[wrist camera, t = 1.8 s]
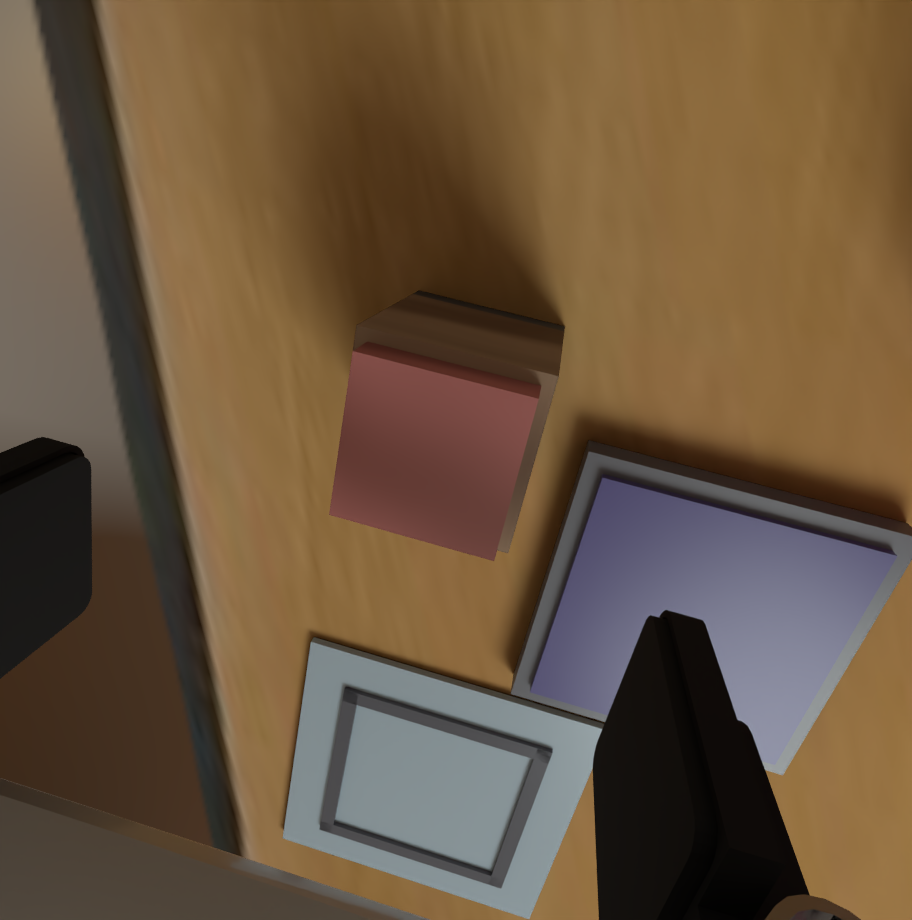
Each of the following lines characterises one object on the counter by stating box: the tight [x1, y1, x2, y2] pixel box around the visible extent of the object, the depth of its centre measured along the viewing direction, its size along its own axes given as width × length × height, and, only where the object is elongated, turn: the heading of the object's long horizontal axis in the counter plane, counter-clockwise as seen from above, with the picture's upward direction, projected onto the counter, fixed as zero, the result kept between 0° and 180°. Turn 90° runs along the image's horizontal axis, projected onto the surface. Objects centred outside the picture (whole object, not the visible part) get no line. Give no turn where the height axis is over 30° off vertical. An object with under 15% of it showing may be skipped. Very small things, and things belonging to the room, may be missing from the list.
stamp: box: [329, 291, 565, 561], centre depth 17 cm, size 5×5×7 cm
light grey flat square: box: [283, 637, 604, 919], centre depth 27 cm, size 12×12×1 cm
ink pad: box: [511, 440, 912, 775], centre depth 21 cm, size 10×10×1 cm
